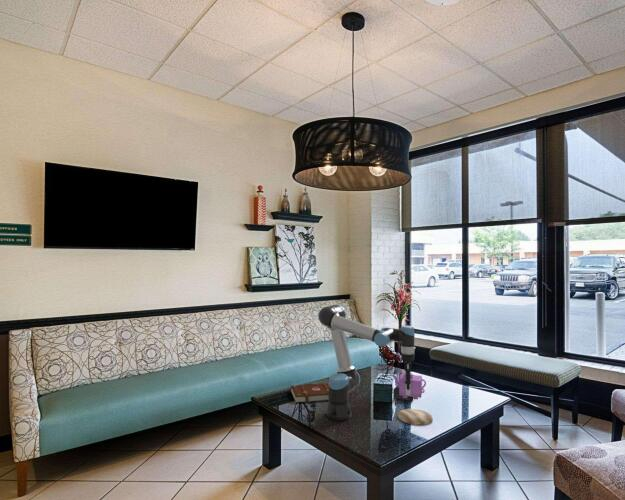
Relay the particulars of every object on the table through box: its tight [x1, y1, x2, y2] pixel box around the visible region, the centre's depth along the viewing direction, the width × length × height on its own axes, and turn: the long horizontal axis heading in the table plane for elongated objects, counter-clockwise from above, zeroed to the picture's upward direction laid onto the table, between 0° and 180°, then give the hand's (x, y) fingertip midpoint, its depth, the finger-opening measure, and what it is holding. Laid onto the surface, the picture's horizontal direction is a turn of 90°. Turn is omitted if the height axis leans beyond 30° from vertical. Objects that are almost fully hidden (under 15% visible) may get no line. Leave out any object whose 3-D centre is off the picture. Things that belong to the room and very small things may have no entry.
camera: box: [392, 385, 414, 402], centre depth 256 cm, size 13×10×10 cm
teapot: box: [390, 373, 427, 400], centre depth 220 cm, size 20×10×12 cm, turn 70°
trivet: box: [397, 408, 433, 426], centre depth 225 cm, size 20×20×1 cm
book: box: [290, 382, 329, 403], centre depth 262 cm, size 23×32×5 cm
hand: (408, 391), depth 220 cm, fingers closed on teapot, 10 cm apart
